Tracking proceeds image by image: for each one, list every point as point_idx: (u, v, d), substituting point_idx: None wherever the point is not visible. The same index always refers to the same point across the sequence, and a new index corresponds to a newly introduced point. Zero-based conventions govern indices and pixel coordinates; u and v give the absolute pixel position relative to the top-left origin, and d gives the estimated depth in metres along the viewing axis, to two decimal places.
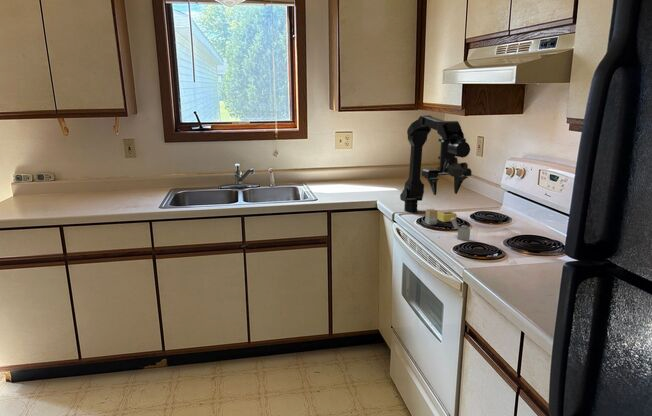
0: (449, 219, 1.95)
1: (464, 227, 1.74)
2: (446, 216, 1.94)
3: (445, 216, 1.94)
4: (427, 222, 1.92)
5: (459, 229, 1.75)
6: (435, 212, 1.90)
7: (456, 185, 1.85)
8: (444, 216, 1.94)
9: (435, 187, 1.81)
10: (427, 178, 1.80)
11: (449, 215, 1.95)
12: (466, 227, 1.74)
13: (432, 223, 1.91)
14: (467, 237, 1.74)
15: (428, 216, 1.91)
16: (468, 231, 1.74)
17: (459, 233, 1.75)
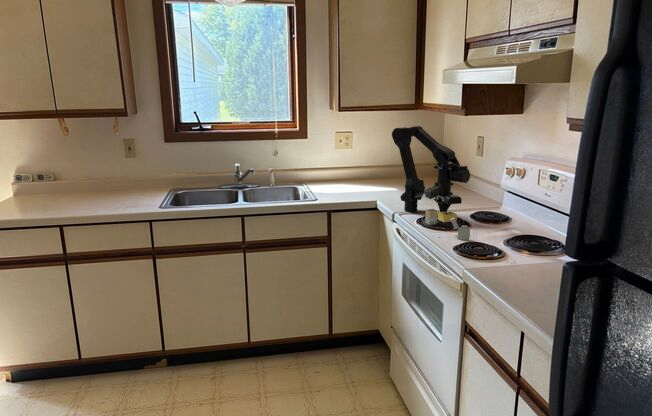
0: (450, 219, 1.95)
1: (464, 227, 1.74)
2: (447, 216, 1.94)
3: (446, 216, 1.94)
4: (427, 222, 1.92)
5: (459, 229, 1.75)
6: (435, 212, 1.90)
7: None
8: (445, 216, 1.94)
9: (439, 208, 2.01)
10: None
11: (450, 215, 1.94)
12: (466, 227, 1.74)
13: (432, 223, 1.91)
14: (467, 237, 1.74)
15: (428, 216, 1.91)
16: (468, 231, 1.74)
17: (459, 233, 1.75)
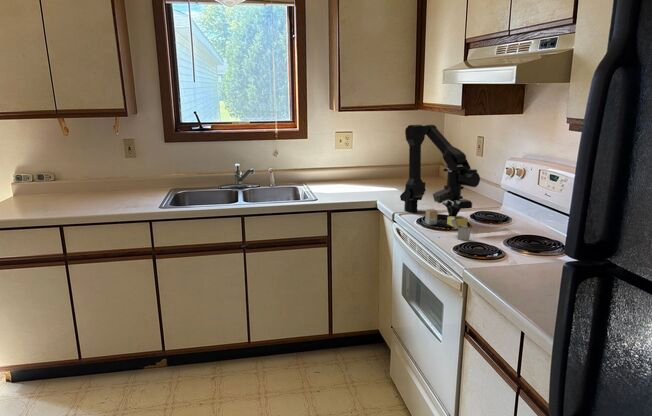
0: (460, 224, 1.88)
1: (464, 227, 1.74)
2: (457, 221, 1.87)
3: None
4: (427, 222, 1.92)
5: (459, 229, 1.75)
6: (435, 212, 1.90)
7: None
8: None
9: (448, 212, 1.94)
10: None
11: (460, 220, 1.87)
12: (466, 227, 1.74)
13: (432, 223, 1.91)
14: (467, 237, 1.74)
15: (428, 216, 1.91)
16: (468, 231, 1.74)
17: (459, 233, 1.75)
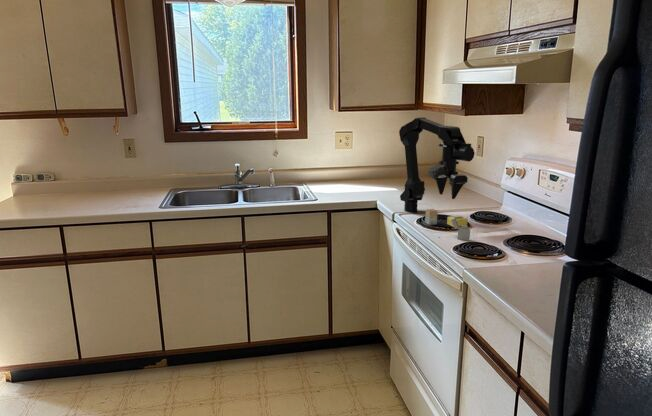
0: (460, 224, 1.88)
1: (464, 227, 1.74)
2: (457, 221, 1.87)
3: None
4: (427, 222, 1.92)
5: (459, 229, 1.75)
6: (435, 212, 1.90)
7: None
8: None
9: (438, 186, 1.96)
10: None
11: (460, 220, 1.87)
12: (466, 227, 1.74)
13: (432, 223, 1.91)
14: (467, 237, 1.74)
15: (428, 216, 1.91)
16: (468, 231, 1.74)
17: (459, 233, 1.75)
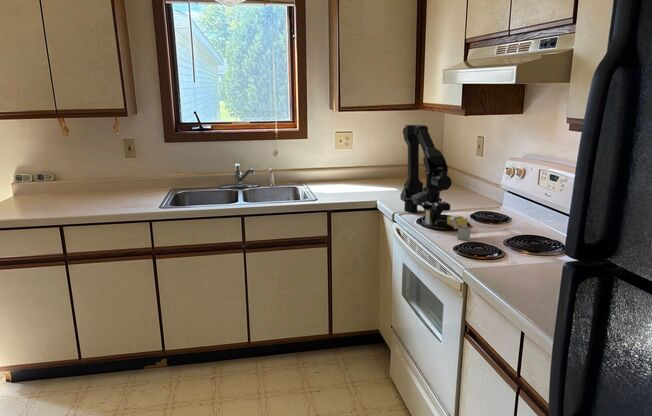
0: (460, 224, 1.88)
1: (464, 227, 1.74)
2: (457, 221, 1.87)
3: None
4: (427, 222, 1.92)
5: (459, 229, 1.75)
6: None
7: None
8: None
9: (425, 214, 1.94)
10: None
11: (460, 220, 1.87)
12: (466, 227, 1.74)
13: None
14: (467, 237, 1.74)
15: (428, 216, 1.91)
16: (468, 231, 1.74)
17: (459, 233, 1.75)
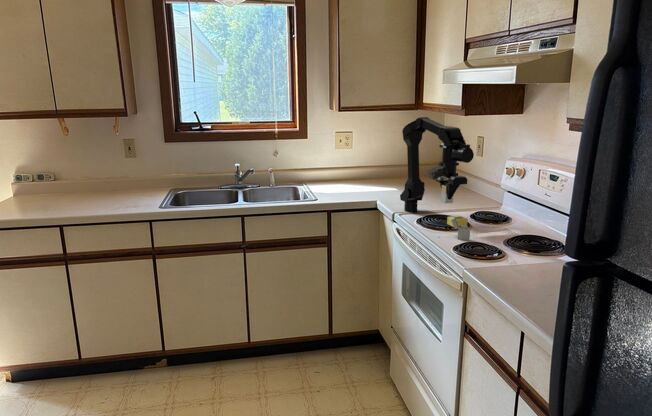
0: (460, 224, 1.88)
1: (464, 227, 1.74)
2: (457, 221, 1.87)
3: None
4: (443, 197, 1.89)
5: (459, 229, 1.75)
6: None
7: None
8: None
9: None
10: None
11: (460, 220, 1.87)
12: (466, 227, 1.74)
13: None
14: (467, 237, 1.74)
15: (444, 191, 1.88)
16: (468, 231, 1.74)
17: (459, 233, 1.75)
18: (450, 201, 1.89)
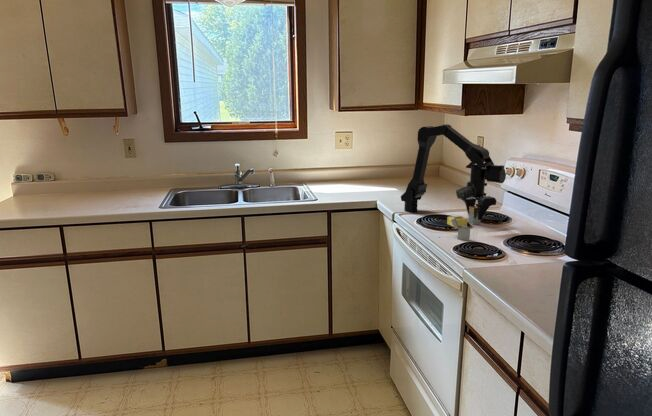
0: (460, 224, 1.88)
1: (464, 227, 1.74)
2: (457, 221, 1.87)
3: None
4: (471, 219, 1.91)
5: (459, 229, 1.75)
6: None
7: None
8: None
9: (467, 208, 1.95)
10: None
11: (460, 220, 1.87)
12: (466, 227, 1.74)
13: (476, 220, 1.91)
14: (467, 237, 1.74)
15: (472, 213, 1.90)
16: (468, 231, 1.74)
17: (459, 233, 1.75)
18: (477, 223, 1.91)
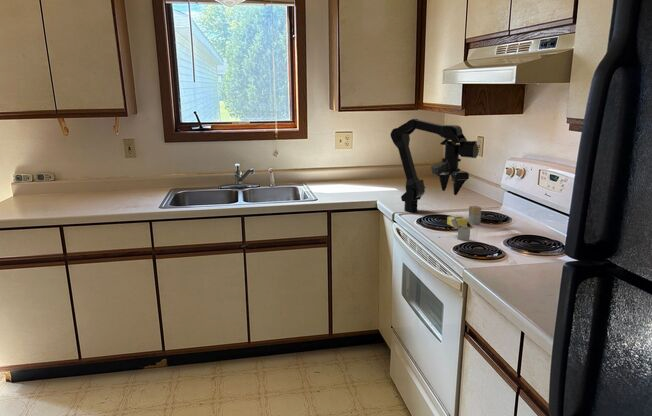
0: (460, 224, 1.88)
1: (464, 227, 1.74)
2: (457, 221, 1.87)
3: None
4: (471, 219, 1.91)
5: (459, 229, 1.75)
6: (479, 209, 1.90)
7: None
8: None
9: (441, 183, 2.04)
10: None
11: (460, 220, 1.87)
12: (466, 227, 1.74)
13: (476, 220, 1.91)
14: (467, 237, 1.74)
15: (472, 213, 1.90)
16: (468, 231, 1.74)
17: (459, 233, 1.75)
18: (477, 223, 1.91)
